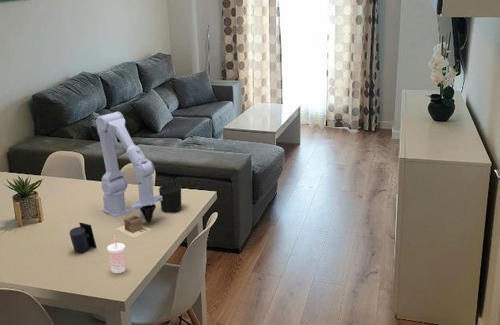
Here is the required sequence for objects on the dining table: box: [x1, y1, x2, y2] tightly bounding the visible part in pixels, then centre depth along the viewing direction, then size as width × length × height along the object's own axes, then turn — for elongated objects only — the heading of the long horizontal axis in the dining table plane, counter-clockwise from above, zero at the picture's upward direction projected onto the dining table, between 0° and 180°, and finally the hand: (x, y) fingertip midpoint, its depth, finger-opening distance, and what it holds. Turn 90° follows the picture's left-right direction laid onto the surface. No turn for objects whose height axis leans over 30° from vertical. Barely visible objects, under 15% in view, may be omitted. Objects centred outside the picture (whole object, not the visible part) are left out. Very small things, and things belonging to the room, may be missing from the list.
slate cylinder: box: [139, 209, 145, 220], centre depth 233 cm, size 5×5×6 cm
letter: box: [115, 224, 152, 238], centre depth 223 cm, size 12×9×1 cm
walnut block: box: [123, 214, 143, 233], centre depth 222 cm, size 5×5×4 cm
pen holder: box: [158, 184, 182, 214], centre depth 240 cm, size 9×9×10 cm
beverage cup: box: [106, 233, 126, 274], centre depth 190 cm, size 6×6×14 cm
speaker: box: [69, 222, 97, 254], centre depth 206 cm, size 8×6×10 cm
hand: (148, 221), depth 228 cm, fingers closed
